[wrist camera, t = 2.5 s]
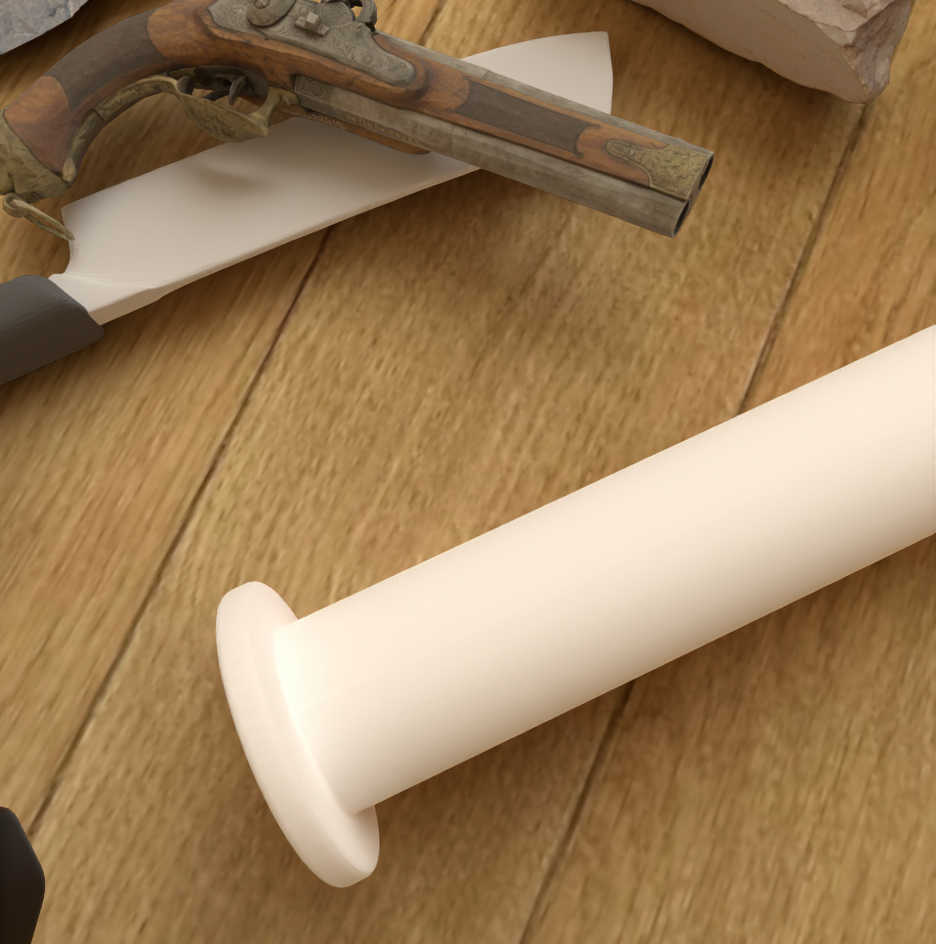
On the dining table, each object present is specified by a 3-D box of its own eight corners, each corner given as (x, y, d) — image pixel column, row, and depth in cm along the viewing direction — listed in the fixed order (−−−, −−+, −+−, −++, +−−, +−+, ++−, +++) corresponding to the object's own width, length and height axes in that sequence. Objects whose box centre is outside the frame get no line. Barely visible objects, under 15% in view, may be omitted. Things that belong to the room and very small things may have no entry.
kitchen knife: (581, -43, 24) (659, 65, 22) (583, 36, 26) (653, 139, 24) (-372, 339, 23) (-388, 487, 21) (-284, 384, 25) (-290, 521, 23)
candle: (231, 553, 21) (1057, 176, 23) (346, 765, 23) (1099, 404, 25) (189, 681, 14) (1368, 133, 16) (358, 966, 16) (1391, 452, 18)
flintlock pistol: (-99, 145, 21) (111, -139, 23) (-5, 220, 25) (172, -32, 26) (542, 451, 17) (747, 69, 18) (549, 492, 20) (722, 166, 22)
